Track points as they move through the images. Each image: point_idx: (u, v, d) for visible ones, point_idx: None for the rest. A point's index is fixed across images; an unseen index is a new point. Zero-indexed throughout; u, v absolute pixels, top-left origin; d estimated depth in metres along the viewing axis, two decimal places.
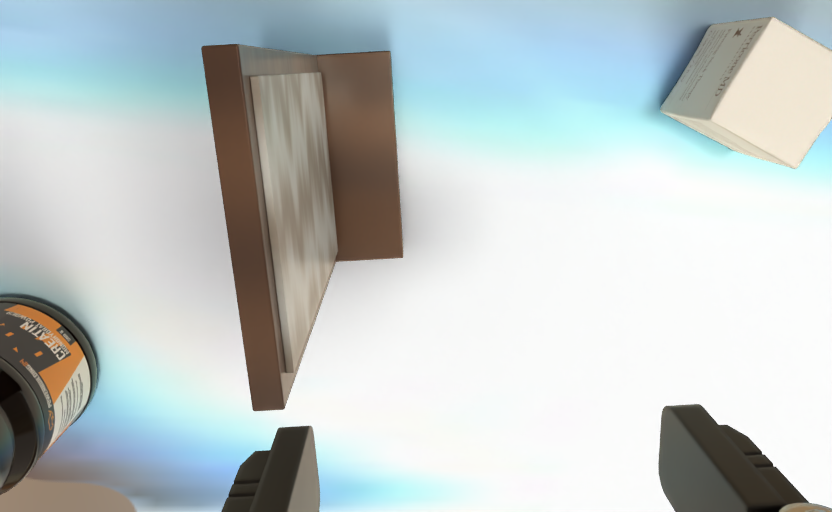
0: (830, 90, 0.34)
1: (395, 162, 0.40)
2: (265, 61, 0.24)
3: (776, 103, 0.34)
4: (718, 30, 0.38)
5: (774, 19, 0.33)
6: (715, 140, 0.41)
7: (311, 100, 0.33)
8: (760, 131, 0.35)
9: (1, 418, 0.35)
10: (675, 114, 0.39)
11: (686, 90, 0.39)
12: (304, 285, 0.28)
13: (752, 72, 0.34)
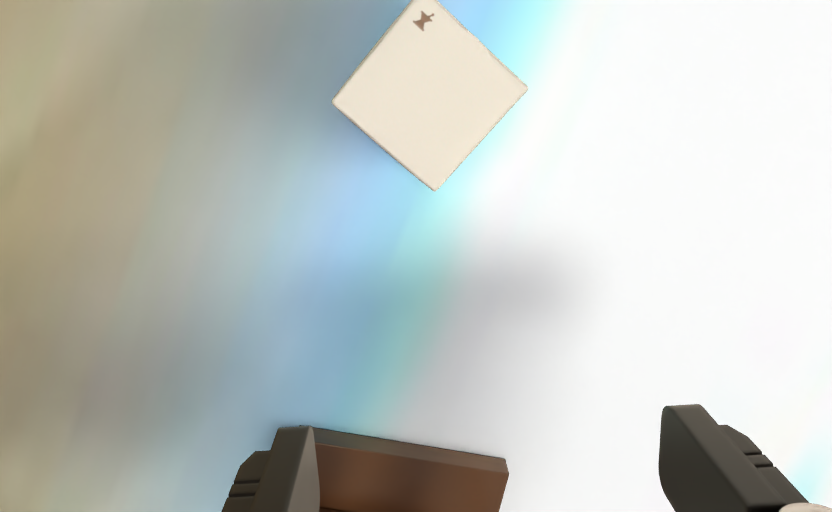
0: (438, 36, 0.26)
1: (406, 458, 0.38)
2: None
3: (436, 109, 0.27)
4: None
5: (334, 100, 0.27)
6: None
7: None
8: (466, 132, 0.27)
9: None
10: None
11: None
12: None
13: (391, 135, 0.27)
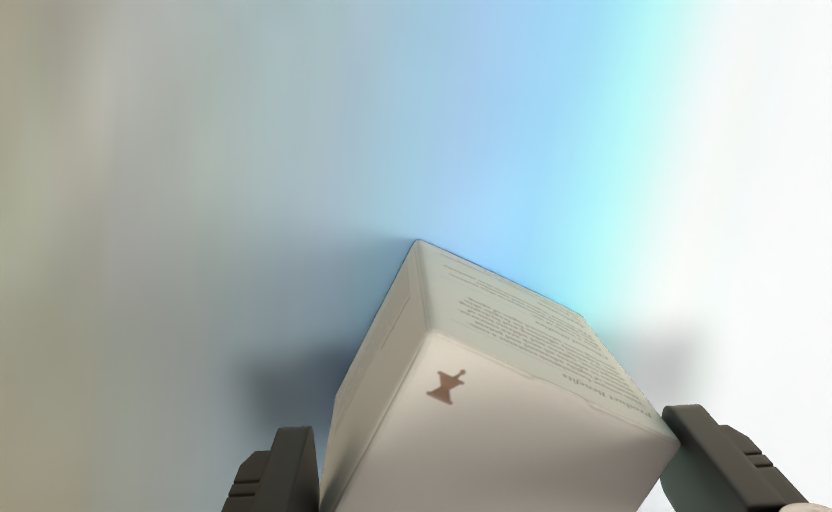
0: (484, 406, 0.13)
1: None
2: None
3: None
4: None
5: None
6: None
7: None
8: None
9: None
10: None
11: None
12: None
13: None
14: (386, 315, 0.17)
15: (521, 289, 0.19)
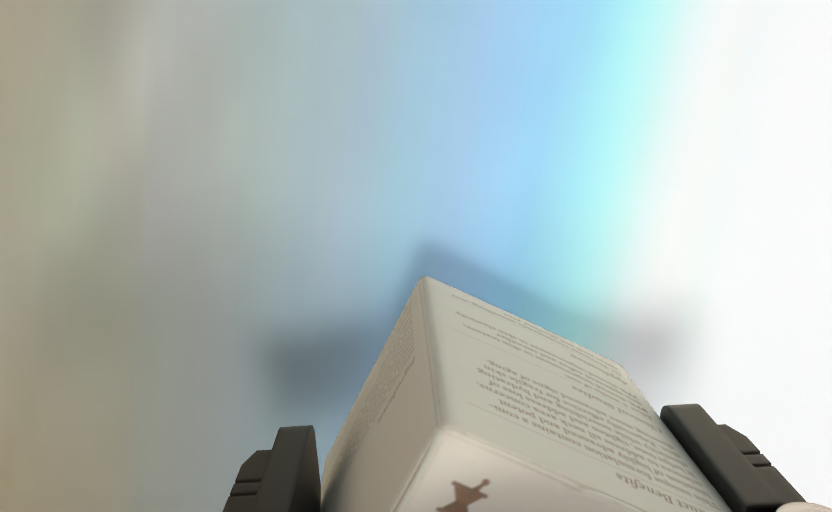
0: None
1: None
2: None
3: None
4: None
5: None
6: None
7: None
8: None
9: None
10: None
11: None
12: None
13: None
14: (385, 373, 0.14)
15: (549, 336, 0.16)
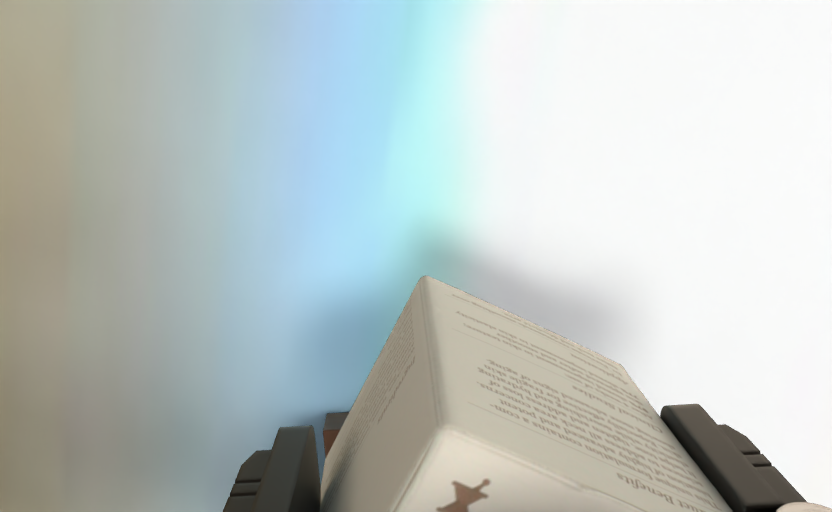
0: None
1: None
2: None
3: None
4: None
5: None
6: None
7: None
8: None
9: None
10: None
11: None
12: None
13: None
14: (385, 373, 0.14)
15: (550, 336, 0.16)
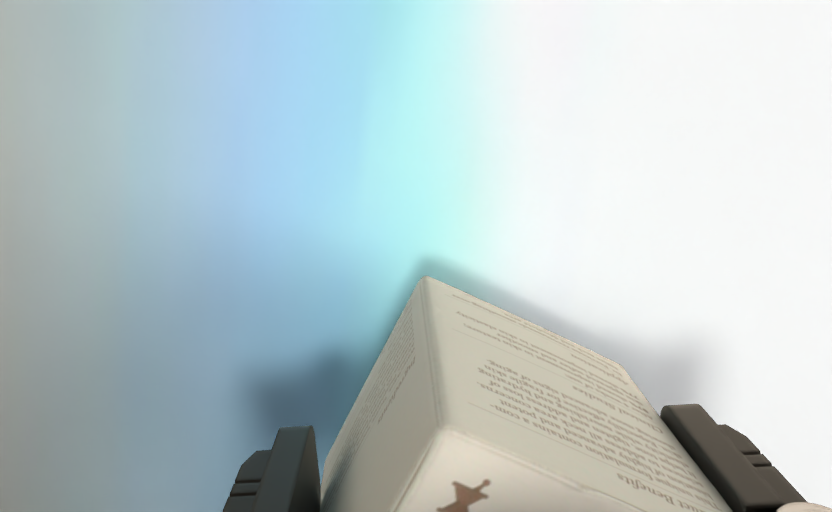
0: None
1: None
2: None
3: None
4: None
5: None
6: None
7: None
8: None
9: None
10: None
11: None
12: None
13: None
14: (385, 373, 0.14)
15: (550, 336, 0.16)
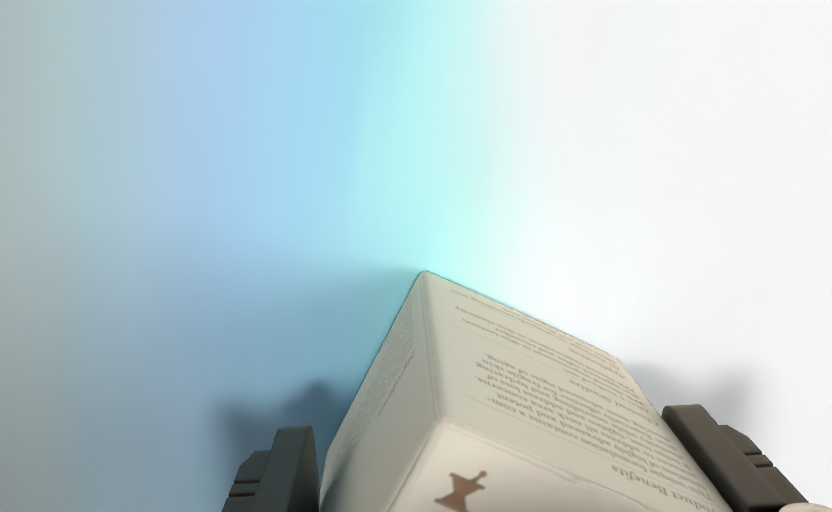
0: None
1: None
2: None
3: None
4: None
5: None
6: None
7: None
8: None
9: None
10: None
11: None
12: None
13: None
14: (385, 367, 0.14)
15: (548, 331, 0.16)
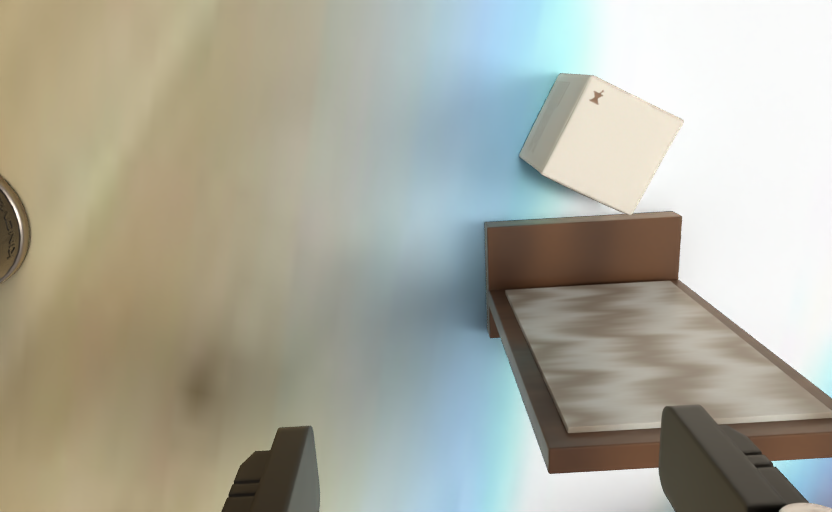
0: (610, 105, 0.35)
1: (587, 223, 0.43)
2: (541, 399, 0.29)
3: (620, 156, 0.36)
4: None
5: (543, 172, 0.36)
6: None
7: (542, 317, 0.38)
8: (645, 166, 0.36)
9: None
10: None
11: None
12: (732, 369, 0.30)
13: (590, 184, 0.36)
14: (552, 101, 0.40)
15: None
